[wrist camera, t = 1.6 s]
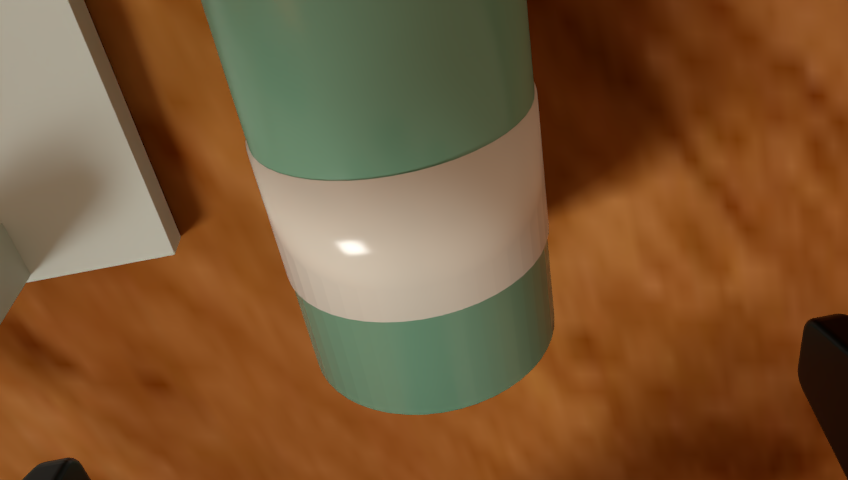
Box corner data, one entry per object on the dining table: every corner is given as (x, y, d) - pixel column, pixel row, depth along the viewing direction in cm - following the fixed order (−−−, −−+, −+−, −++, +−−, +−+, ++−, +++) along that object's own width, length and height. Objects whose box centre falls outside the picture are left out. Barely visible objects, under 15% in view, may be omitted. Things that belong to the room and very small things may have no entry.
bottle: (532, 239, 20) (582, 391, 15) (321, 274, 20) (304, 436, 15) (459, -486, 12) (515, -649, 7) (119, -414, 12) (-46, -528, 7)
